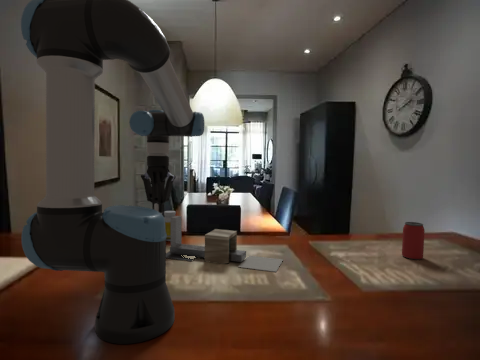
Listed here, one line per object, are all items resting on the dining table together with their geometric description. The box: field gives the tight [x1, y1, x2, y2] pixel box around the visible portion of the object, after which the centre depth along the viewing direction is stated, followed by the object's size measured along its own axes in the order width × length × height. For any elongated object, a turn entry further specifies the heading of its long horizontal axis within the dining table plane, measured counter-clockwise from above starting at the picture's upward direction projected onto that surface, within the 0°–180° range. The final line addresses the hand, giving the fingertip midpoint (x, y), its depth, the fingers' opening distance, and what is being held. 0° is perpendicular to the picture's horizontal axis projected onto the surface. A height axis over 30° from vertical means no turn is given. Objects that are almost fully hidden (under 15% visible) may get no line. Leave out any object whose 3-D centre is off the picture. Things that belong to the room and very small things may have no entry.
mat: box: [237, 255, 284, 273], centre depth 100 cm, size 12×12×1 cm
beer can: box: [401, 221, 426, 261], centre depth 109 cm, size 7×7×12 cm
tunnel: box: [204, 228, 238, 264], centre depth 104 cm, size 9×8×9 cm
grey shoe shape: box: [166, 250, 194, 262], centre depth 109 cm, size 12×12×1 cm
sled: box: [169, 215, 247, 263], centre depth 106 cm, size 5×26×12 cm, turn 72°
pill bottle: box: [163, 210, 177, 242], centre depth 128 cm, size 6×6×12 cm
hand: (158, 221), depth 111 cm, fingers closed
